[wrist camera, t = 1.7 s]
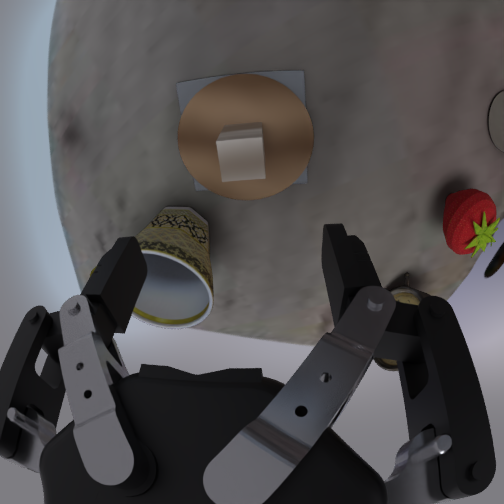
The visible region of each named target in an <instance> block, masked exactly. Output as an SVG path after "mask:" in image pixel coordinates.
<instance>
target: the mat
mask: <svg viewBox="0 0 504 504" xmlns="http://www.w3.org/2000/svg"><path fill="white" fill-rule="evenodd" d="M241 74H257V75H261V76H266V77H269V78H271V79H274V80H276V81H278V82H280V83H282V84H283V85H285V86H286V87H287V88H289V89H290V90H291V91H292V92H293V93H294V94H295V95H296V96H297V97H298V98H299V99H300V100H301V102H302V103H303V104H304V106H305V108H306V101H305V81H304V70H288V71H265V72H251V73H241ZM231 75H235V74H231ZM226 76H230V75H223V76H215V77H208V78H202V79H196V80H190V81H184V82H179V83H176V87H177V93H178V99H179V105H180V111H181V116H182V114H183V112H184V109H185V108H186V106H187V104H188V103H189V101H190V100H191V99H192V98H193V97H194V95H195V94H196V93H198V92H199V91H200V90H201V89H202V88H204V87H205V86H207V85H208V84H210V83H212V82H214V81H216V80H218V79H220V78H223V77H226ZM193 180H194V185H195V189H196V191H201V190H208V189H207V188H205V187H204V186H203V185H201V184H200V183H199V182H198V181H197V180H196V179H195V178H194V177H193ZM303 183H307V166H306V168H305V170H304V171H303V173H302V174H301V175H300V176H299V178H298V179H297V180H296V181H295V182H294V183H292V184H303Z"/></svg>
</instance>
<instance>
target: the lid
mask: <svg viewBox="0 0 504 504" xmlns="http://www.w3.org/2000/svg"><path fill="white" fill-rule="evenodd" d="M313 144H314V132H313V126H312V122H311V119H310V116H309V113H308V111H307V110H306V108H305V106H304V104H303V103H302V102H301V100H300V99H299V98H298V97H297V96H296V95H295V94H294V93H293V92H292V91H291V90H290V89H289V88H287V87H286V86H285V85H283V84H282V83H280V82H278V81H276V80H274V79H271V78H269V77H266V76H261V75H257V74H235V75H230V76H226V77H223V78H220V79H218V80H216V81H214V82H212V83H210V84H208V85H207V86H205V87H204V88H202V89H201V90H200V91H199V92H198V93H196V94H195V95H194V97H193V98H192V99H191V100H190V101H189V103H188V104H187V106H186V108H185V109H184V112H183V114H182V116H181V119H180V122H179V128H178V146H179V151H180V155H181V158H182V160H183V162H184V164H185V166H186V168H187V169H188V171H189V172H190V173H191V175H192V176H193V177H194V178H195V179H196V180H197V181H198V182H199V183H200V184H201V185H203V186H204V187H205V188H207V189H208V190H210V191H212V192H214V193H216V194H218V195H221V196H224V197H227V198H231V199H237V200H256V199H262V198H266V197H269V196H272V195H275V194H277V193H279V192H281V191H283V190H284V189H286V188H287V187H289V186H290V185H291V184H292V183H294V182H295V181H296V180H297V179H298V178H299V176H300V175H301V174H302V173H303V171H304V170H305V168H306V166H307V164H308V162H309V160H310V157H311V154H312V150H313Z"/></svg>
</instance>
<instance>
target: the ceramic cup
mask: <svg viewBox="0 0 504 504" xmlns="http://www.w3.org/2000/svg"><path fill="white" fill-rule="evenodd" d="M135 237H136V238H137V240H138V243H139V245H140V248H141V251H142V253H143V256H144V258H145V261H146V263H147V270H148V271H147V277H146V280H145V282H144V284H143V287H142V289H141V292H140V294H139V297H138V299H137V302H136V304H135V307H134V310H133V312H132V315H131V316H133V317H135V318H136V319H138V320H140V321H142V322H144V323H147V324H150V325H153V326H157V327H161V328H168V329H182V328H188V327H192V326H194V325H197V324H199V323H201V322H202V321H204V320H205V319H206V318H207V317H208V315H209V314H210V312H211V311H212V308H213V276H212V269H211V263H210V244H209V227H208V222H207V221H206V220H205V219H204V218H203V217H201V216H200V215H199V214H198V213H197V212H195V211H194V210H193V209H192V208H190V207H165V208H164V209H163V210H162V211H161V212H160V213H159V214H158V215H157V216H156V217H155V218H154V219H153V220H152V221H151V223H150V224H149V225H148V226H147V227H146V228H145V229H144V230H142V231H141V232H140V233H139V234H137V235H136V236H135ZM96 267H97V266H96ZM96 267H95V268H96ZM95 268H94V269H93V270H92V271H91V274H90V276H91V275H92V273H94V272H93V271H94V270H95Z"/></svg>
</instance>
